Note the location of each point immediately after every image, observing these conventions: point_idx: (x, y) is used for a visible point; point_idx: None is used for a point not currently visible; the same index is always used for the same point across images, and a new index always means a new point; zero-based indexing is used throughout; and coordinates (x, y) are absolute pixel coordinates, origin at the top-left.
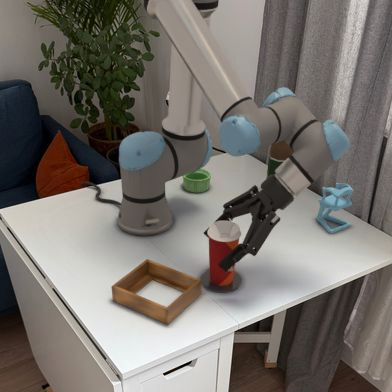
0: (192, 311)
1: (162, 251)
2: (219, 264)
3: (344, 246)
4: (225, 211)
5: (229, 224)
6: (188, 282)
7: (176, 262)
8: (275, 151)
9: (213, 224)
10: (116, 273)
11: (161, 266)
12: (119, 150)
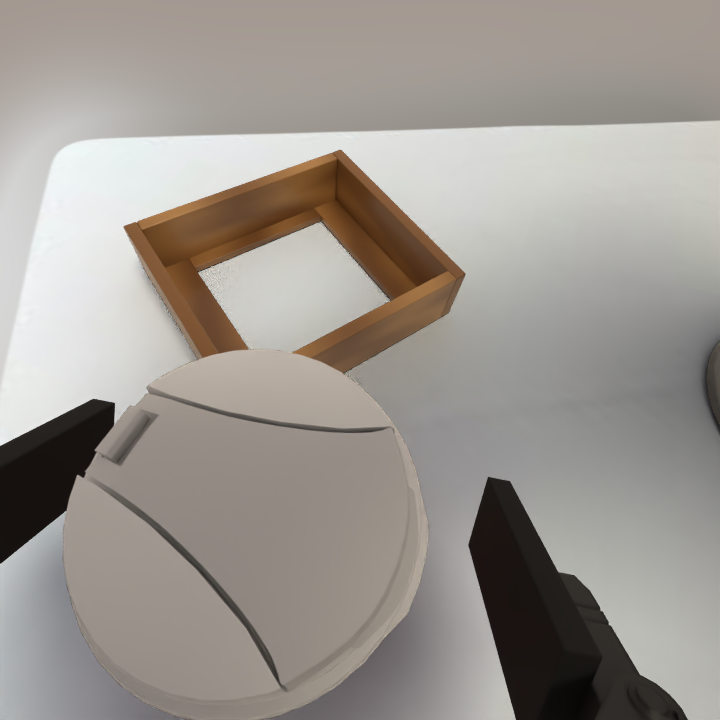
0: (160, 359)
1: (584, 407)
2: (87, 403)
3: None
4: (631, 704)
5: (285, 582)
6: None
7: (492, 428)
8: None
9: (357, 413)
10: (470, 238)
11: (396, 298)
12: None
